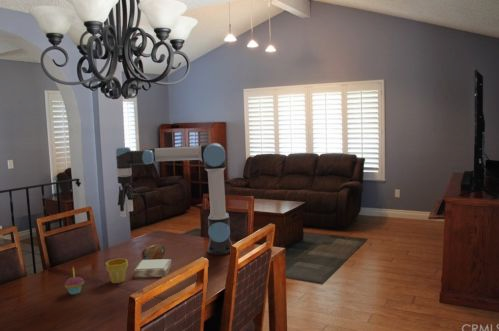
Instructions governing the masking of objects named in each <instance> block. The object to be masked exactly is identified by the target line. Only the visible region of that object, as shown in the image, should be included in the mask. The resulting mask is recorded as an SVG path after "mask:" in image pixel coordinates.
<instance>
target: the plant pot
mask: <svg viewBox="0 0 499 331" xmlns="http://www.w3.org/2000/svg"><path fill="white" fill-rule="evenodd" d="M128 267H129V263H128V259H126V258H115V259H111V260H108V261H107V262H106V263H105V269H106V271H107V272H108V273H107V274H108V276H109V279H110V282H111V283H112V284H120V283H123V282H125V281H126V277H127V276H126V275H127V269H128Z"/></svg>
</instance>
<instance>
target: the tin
mask: <svg viewBox="0 0 499 331" xmlns="http://www.w3.org/2000/svg"><path fill="white" fill-rule="evenodd" d="M165 251H166V249H165V247H164V245H162V244H161V243H160V244H158V243H157V244H153V245H151V246H147V247H145V248H144V249H143V250H142V252H141V259H142V260H155V259H163V257H164V255H165Z"/></svg>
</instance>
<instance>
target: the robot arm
mask: <svg viewBox="0 0 499 331" xmlns="http://www.w3.org/2000/svg"><path fill="white" fill-rule="evenodd" d="M225 150H226V149H225V147H224V146H223V145H222V144H220V143H218V142H212V143H206V144H200V145H198V146H182V147H181V146H179V147H176V146H175V147H160V148H159V147H157V148H156V147H155V148H149V147H147V148H146V147H145V148H143V149H141V150H131V147H129V146H126V147H125V146H123V147H121V146H119V147H116V150H115V153H116V154H115V159H116V173H117V183H118V184H120V185H119V186H118V197H117V198H118V199H117V206H119V214H120V215H119V217H120V218H126V216H127V215H126V204H125V202H126V198H127V212H133V211H134V204H133V203H134V202H133V200H135V197H134V192H133V188H132V182H133V176H132V174H133V172H132V165H151V164H154V163H155V162H172V161H173V162H174V161H175V162H176V161H177V162H178V161H194V160H195V161H197V160H198V161H200V162H204V170H205V171H207V179H208V180H207V181H208V194H209V195H208V196H209V197H208V198H209V207H210V208H209V210H210V213H209V216H208V217H207V221H208V222H207V224H208V231H207V233H208V236H209V242H208V246H207V253H208V254H210V255H217V256H218V255H219V256H220V255H228V254H230V253H229V252H230V247H231V245H233V243H232V240H231V238H230V236H231V229H230V216H229V215H230V214H229V213H228V212H227V211H226V207H227V206H226V193H225V192H226V191H225V190H226V189H225V177H224V175H225V174H224V170H225V169H226V168H227V163H226V151H225Z"/></svg>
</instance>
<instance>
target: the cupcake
mask: <svg viewBox="0 0 499 331" xmlns="http://www.w3.org/2000/svg"><path fill="white" fill-rule="evenodd" d="M75 273H76V272H75V268H74V265H72V275H73V276H72V277H69V278H68V279H66V281H64V287H65V288H66V289H67V291H68V293H69V295H76V294H80V293H81V290H82V287H83V285H85V279H84V278H83V277H79V276H76V274H75Z"/></svg>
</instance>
